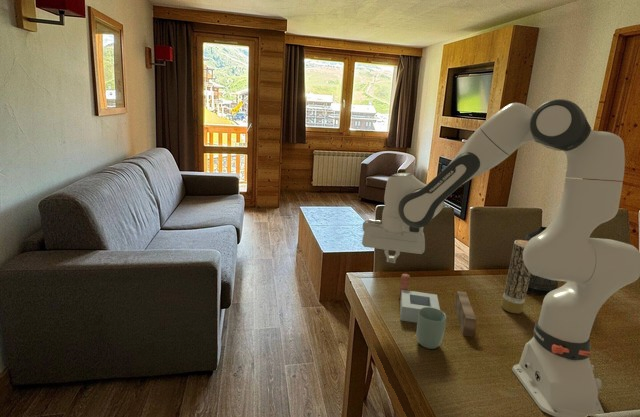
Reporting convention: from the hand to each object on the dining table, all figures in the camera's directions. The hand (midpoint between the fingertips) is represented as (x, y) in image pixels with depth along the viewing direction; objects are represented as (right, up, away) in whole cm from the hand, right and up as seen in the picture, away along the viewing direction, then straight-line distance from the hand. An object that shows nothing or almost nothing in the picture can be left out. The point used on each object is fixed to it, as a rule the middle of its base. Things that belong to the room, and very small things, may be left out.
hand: (390, 261), depth 125 cm
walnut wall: (+24, -19, 0) cm, 31 cm away
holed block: (+10, -18, +2) cm, 20 cm away
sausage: (+7, -15, +12) cm, 20 cm away
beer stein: (+64, -15, +27) cm, 71 cm away
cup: (+8, -22, -14) cm, 28 cm away
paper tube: (+45, -18, +9) cm, 49 cm away
